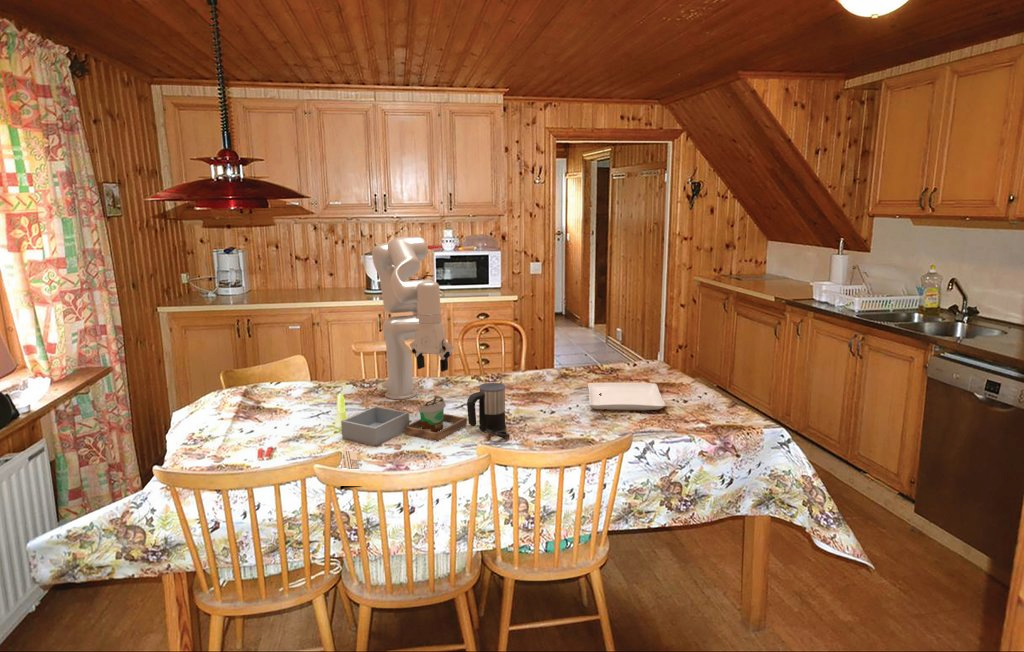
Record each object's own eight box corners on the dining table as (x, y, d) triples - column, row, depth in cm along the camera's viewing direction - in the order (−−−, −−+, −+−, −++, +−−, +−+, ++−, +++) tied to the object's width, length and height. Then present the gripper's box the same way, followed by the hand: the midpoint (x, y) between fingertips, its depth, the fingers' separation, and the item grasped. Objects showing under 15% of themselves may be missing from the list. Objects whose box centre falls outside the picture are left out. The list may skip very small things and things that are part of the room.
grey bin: (342, 438, 206) (341, 421, 205) (376, 422, 220) (375, 405, 219) (376, 446, 199) (375, 428, 198) (409, 429, 213) (408, 412, 212)
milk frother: (491, 421, 219) (490, 380, 216) (527, 431, 209) (526, 388, 206) (463, 433, 209) (462, 390, 206) (499, 444, 199) (498, 400, 196)
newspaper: (336, 457, 192) (335, 452, 192) (359, 454, 194) (359, 449, 194) (340, 491, 170) (340, 485, 170) (367, 487, 173) (366, 481, 172)
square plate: (655, 391, 250) (656, 382, 250) (665, 415, 224) (665, 404, 223) (587, 390, 253) (587, 381, 252) (589, 413, 226) (589, 403, 226)
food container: (436, 437, 206) (435, 408, 204) (420, 435, 208) (418, 406, 206) (452, 424, 217) (451, 396, 215) (436, 422, 219) (435, 394, 217)
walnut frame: (405, 434, 209) (404, 426, 208) (435, 418, 223) (434, 411, 222) (438, 441, 202) (437, 434, 202) (466, 424, 216) (466, 418, 216)
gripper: (402, 319, 209) (405, 369, 212) (444, 322, 201) (447, 374, 203) (416, 316, 216) (419, 364, 218) (457, 318, 207) (460, 369, 210)
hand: (432, 369), depth 211 cm, fingers open, 9 cm apart
